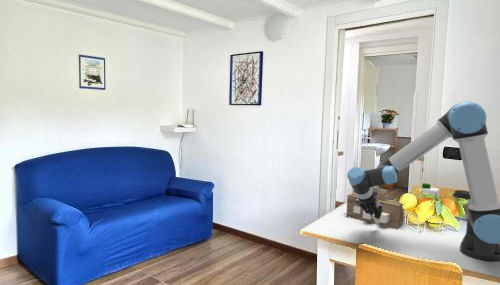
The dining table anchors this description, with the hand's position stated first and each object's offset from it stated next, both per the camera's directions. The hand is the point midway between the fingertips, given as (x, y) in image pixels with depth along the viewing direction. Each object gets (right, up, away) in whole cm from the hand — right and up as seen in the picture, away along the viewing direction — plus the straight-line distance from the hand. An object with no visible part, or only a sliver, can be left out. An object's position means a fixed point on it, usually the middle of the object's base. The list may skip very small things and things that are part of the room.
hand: (378, 221), depth 174 cm
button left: (-3, +1, +20) cm, 20 cm away
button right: (+5, -1, +5) cm, 7 cm away
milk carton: (+34, -4, +18) cm, 38 cm away
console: (+3, -3, +15) cm, 16 cm away
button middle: (-1, 0, +11) cm, 11 cm away
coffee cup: (+56, -4, +24) cm, 62 cm away
